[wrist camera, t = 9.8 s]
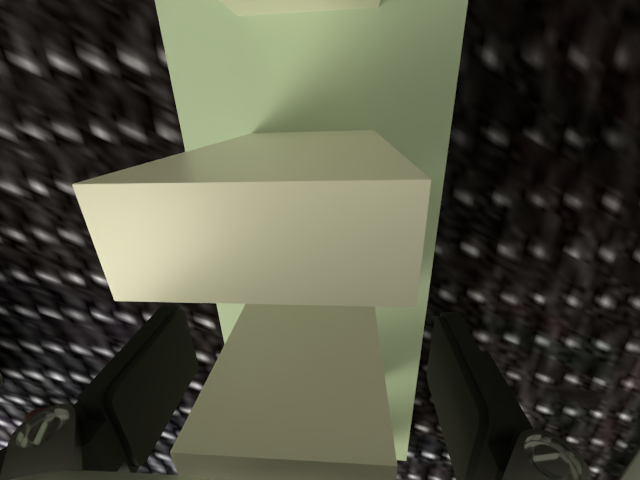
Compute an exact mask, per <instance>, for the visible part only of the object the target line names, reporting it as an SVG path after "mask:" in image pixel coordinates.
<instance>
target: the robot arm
mask: <svg viewBox="0 0 640 480" xmlns="http://www.w3.org/2000/svg"><path fill="white" fill-rule="evenodd" d="M197 368H198V361H197V357H196V353H195V350H194V346H193V342H192V338H191V334H190V330H189V326H188V322H187V318H186V315H185V312H184V310H181V308H180V307H179V306H161V307H160V308H159V309H158V310H157V311H156V312H155V313H154V315H153V316H152V317H151V318H150V319H149V320H148V321H147V322H146V323H145V324H144V325H143V326H142V328H141V329H140V330H139V331H138V332H137V333H136V334H135V335H134V336H133V337H132V338H131V339H130V341H129V342H128V343H127V344H126V345H125V346H124V347H123V348H122V349H121V350H120V351H119V352H118V353H117V355H116V356H115V357H114V358H113V359H112V360H111V361H110V362H109V363H108V364H107V365H106V366H105V368H104V369H103V370H102V371H101V372H100V373H99V374H98V375H97V376H96V377H95V378H94V379H93V381H92V382H91V383H90V384H89V385H88V386H87V387H86V388H85V389H84V390H83V391H82V392H81V394H80V395H79V396H78V397H77V398H78V400H79V401H78V402H77V403H76V404H75V405H74V406H72V405H70V404H58V405H54V406H51V407H48V408H45V409H43V410H41V411H39V412H37V413H36V414H34V415H33V416H31V417H30V418H28V419H27V420H26V421H25V422H23V423H22V424H21V425H20V426H19V427H18V428H17V429H16V431H15V432H14V433H13V434H12V436H11V438H10V440H9V443H8V446H7V447H6V448H4V449H2V450H0V480H235V479H221V478H207V477H192V476H176V475H161V474H146V473H136V471H137V469H138V468H139V466H140V465H143V464H144V463H145V462H146V461H147V459H148V457H149V455H150V454H151V452H152V450H153V448H154V447H155V445H156V443H157V441H158V439H159V438H160V436H161V434H162V432H163V431H164V429H165V427H166V425H167V423H168V422H169V420H170V418H171V416H172V415H173V413H174V411H175V409H176V407H177V406H178V404H179V402H180V400H181V399H182V397H183V395H184V393H185V391H186V390H187V388H188V386H189V384H190V383H191V381H192V379H193V377H194V376H195V374H196V372H197ZM427 381H428V385H429V388H430V392H431V395H432V398H433V402H434V405H435V409H436V412H437V415H438V419H439V422H440V425H441V429H442V432H443V436H444V439H445V442H446V446H447V449H448V452H449V456H450V459H451V463H452V466H453V469H454V473H455V476H456V480H592V479H591V473H590V470H589V468H588V466H587V464H586V462H585V460H584V459H583V458H582V456H581V455H580V454H579V452H578V451H577V450H576V449H574V448H573V447H572V446H571V445H570V444H569V443H568V442H566V441H565V440H563V439H562V438H560V437H559V436H557V435H555V434H552V433H550V432H548V431H544V430H540V429H533V428H532V426H531V424H530V422H529V421H528V419H527V417H526V416H525V414H524V412H523V410H522V409H521V407H520V405H519V403H518V402H517V400H516V398H515V397H514V395H513V393H512V391H511V390H510V388H509V386H508V385H507V383H506V381H505V379H504V378H503V376H502V374H501V372H500V371H499V369H498V367H497V366H496V364H495V362H494V360H493V359H492V357H491V356H490V354H489V353H487V352H481V351H480V349H479V347H478V345H477V344H476V342H475V340H474V338H473V336H472V334H471V333H470V331H469V329H468V327H467V325H466V324H465V322H464V320H463V318H462V316H461V315H460V313H458V312H441V314H440V316H436V317H435V320H434V327H433V334H432V340H431V347H430V354H429V360H428V367H427Z"/></svg>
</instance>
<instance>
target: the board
mask: <svg viewBox="0 0 640 480" xmlns="http://www.w3.org/2000/svg"><path fill="white" fill-rule="evenodd" d="M155 4H156V9H157V14H158V19H159V24H160V28H161V33H162V38H163V43H164V48H165V53H166V58H167V63H168V68H169V73H170V78H171V83H172V87H173V92H174V97H175V102H176V107H177V112H178V117H179V122H180V127H181V132H182V137H183V142H184V147H185V151H186V152H187V151H191V150H194V149H198V148H201V147H205V146H208V145H212V144H215V143H219V142H222V141H226V140H229V139H233V138H236V137H240V136H243V135H247V134H250V133H277V132H313V131H350V130H374V131H375V132H377V133H378V134H379V135H380V136H381V137H382V138H384V139H385V140H386V141H387V142H388V143H389V144H391V145H392V146H393V147H394V148H395V149H396V150H398V151H399V152H400V153H401V154H402V155H403V156H405V157H406V158H407V159H408V160H409V161H410V162H412V163H413V164H414V165H415V166H416V167H417V168H418V169H420V170H421V171H422V172H423V173H424V174H425V175H427V176H428V177H429V178H430V179H431V187H430V195H429V204H428V212H427V221H426V229H425V238H424V246H423V255H422V263H421V272H420V280H419V289H418V297H417V306H416V307H375V312H376V319H377V326H378V333H379V340H380V347H381V354H382V361H383V368H384V375H385V382H386V389H387V396H388V403H389V410H390V417H391V424H392V431H393V438H394V445H395V452H396V459H397V460H404V461H406V458H407V451H408V443H409V436H410V428H411V421H412V413H413V406H414V398H415V391H416V384H417V376H418V369H419V361H420V354H421V346H422V339H423V332H424V324H425V317H426V309H427V302H428V294H429V287H430V280H431V272H432V265H433V257H434V250H435V242H436V235H437V228H438V220H439V213H440V205H441V198H442V190H443V183H444V176H445V168H446V161H447V153H448V146H449V138H450V131H451V124H452V116H453V109H454V101H455V94H456V86H457V79H458V71H459V64H460V57H461V49H462V42H463V34H464V27H465V19H466V12H467V5H468V0H380V3H379V7H378V8H363V9H347V10H330V11H314V12H297V13H281V14H264V15H248V16H237V15H236V14H235V13H234V12H232V11H231V10H230V9H229V8H228V7H226V6H225V5H224V4H223V3H222V2H220V1H219V0H155ZM216 304H217V309H218V314H219V319H220V324H221V329H222V333H223V338H224V343H226V341H227V339H228V337H229V335H230V333H231V331H232V330H233V328H234V326H235V324H236V322H237V320H238V318H239V316H240V314H241V312H242V310H243V308H244V306H245V304H232V303H216Z"/></svg>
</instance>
